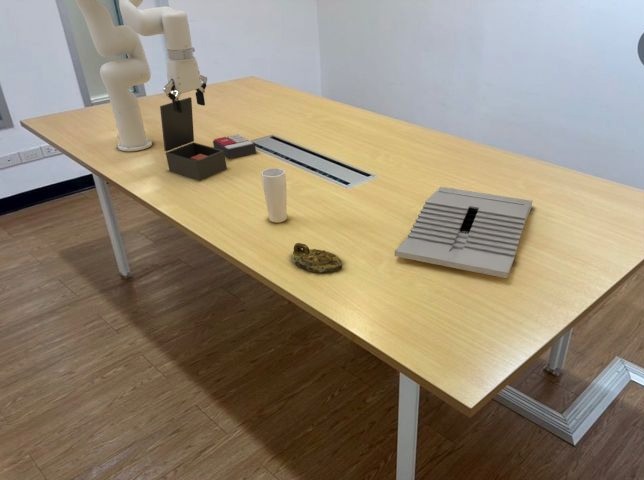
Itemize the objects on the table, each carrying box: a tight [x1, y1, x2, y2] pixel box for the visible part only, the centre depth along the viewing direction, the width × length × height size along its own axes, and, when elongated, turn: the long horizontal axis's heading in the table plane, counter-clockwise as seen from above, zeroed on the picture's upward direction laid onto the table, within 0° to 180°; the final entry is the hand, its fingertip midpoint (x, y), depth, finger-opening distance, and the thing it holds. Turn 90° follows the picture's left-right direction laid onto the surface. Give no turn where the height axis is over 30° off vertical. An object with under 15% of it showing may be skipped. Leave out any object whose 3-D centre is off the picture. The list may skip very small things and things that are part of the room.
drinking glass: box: [260, 167, 288, 224], centre depth 161 cm, size 7×7×15 cm
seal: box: [292, 242, 343, 274], centre depth 144 cm, size 9×5×15 cm
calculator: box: [212, 133, 257, 160], centre depth 211 cm, size 11×4×15 cm
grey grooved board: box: [394, 186, 533, 279], centre depth 157 cm, size 44×29×4 cm, turn 162°
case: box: [165, 141, 228, 182], centre depth 195 cm, size 16×13×7 cm
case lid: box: [159, 96, 195, 153], centre depth 191 cm, size 16×13×1 cm
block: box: [191, 154, 207, 161], centre depth 194 cm, size 4×4×4 cm
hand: (190, 108), depth 184 cm, fingers open, 9 cm apart
